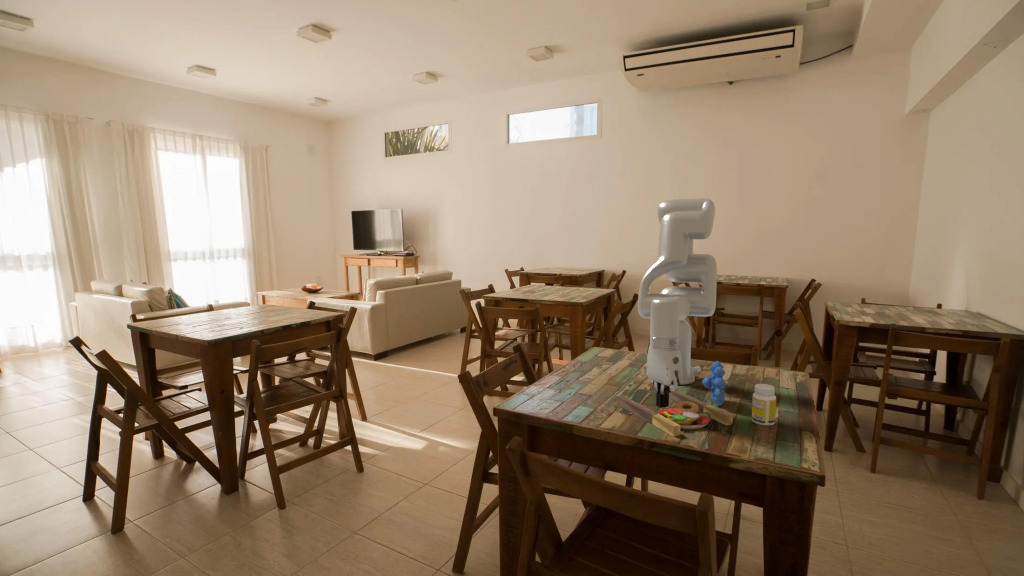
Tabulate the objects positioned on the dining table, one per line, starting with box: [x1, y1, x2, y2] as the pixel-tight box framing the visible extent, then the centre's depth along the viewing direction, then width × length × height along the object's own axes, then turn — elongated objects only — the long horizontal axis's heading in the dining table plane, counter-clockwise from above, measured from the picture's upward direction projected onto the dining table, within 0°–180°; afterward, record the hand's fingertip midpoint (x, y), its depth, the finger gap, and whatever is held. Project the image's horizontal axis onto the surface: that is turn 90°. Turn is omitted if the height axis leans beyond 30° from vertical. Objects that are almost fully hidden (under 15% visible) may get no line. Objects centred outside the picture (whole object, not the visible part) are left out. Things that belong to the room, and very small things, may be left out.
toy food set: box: [657, 401, 712, 430], centre depth 124 cm, size 13×13×3 cm
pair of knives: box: [616, 390, 734, 437], centre depth 129 cm, size 19×24×2 cm
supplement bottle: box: [751, 383, 777, 426], centre depth 122 cm, size 6×5×10 cm
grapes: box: [701, 360, 727, 407], centre depth 137 cm, size 12×7×12 cm, turn 166°
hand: (662, 406), depth 133 cm, fingers closed
